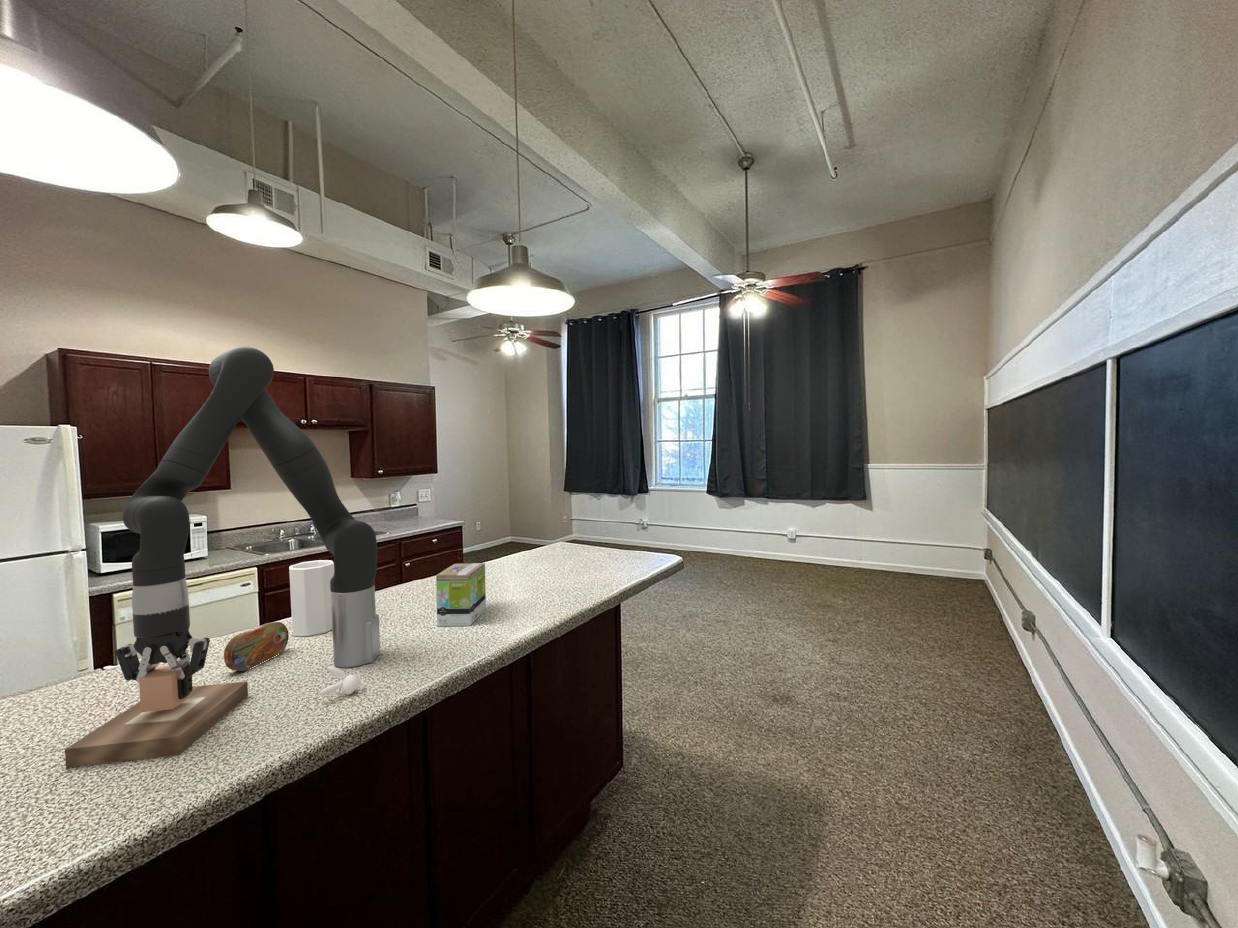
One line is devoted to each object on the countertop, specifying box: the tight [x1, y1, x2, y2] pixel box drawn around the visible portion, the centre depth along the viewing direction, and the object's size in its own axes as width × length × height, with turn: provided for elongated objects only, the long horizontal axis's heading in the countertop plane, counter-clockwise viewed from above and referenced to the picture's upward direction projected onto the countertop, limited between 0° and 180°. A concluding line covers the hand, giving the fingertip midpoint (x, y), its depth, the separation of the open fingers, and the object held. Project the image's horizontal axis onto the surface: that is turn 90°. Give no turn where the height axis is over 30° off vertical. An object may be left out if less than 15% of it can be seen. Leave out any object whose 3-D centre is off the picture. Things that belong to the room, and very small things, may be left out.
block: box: [138, 665, 192, 712], centre depth 91 cm, size 5×5×6 cm
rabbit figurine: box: [319, 665, 365, 698], centre depth 101 cm, size 6×4×8 cm
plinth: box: [64, 680, 249, 768], centre depth 91 cm, size 16×20×3 cm
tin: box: [223, 621, 290, 672], centre depth 118 cm, size 15×3×8 cm, turn 168°
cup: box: [288, 559, 334, 637], centre depth 140 cm, size 11×11×18 cm
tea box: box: [435, 562, 487, 627], centre depth 146 cm, size 15×10×15 cm, turn 179°
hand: (166, 698), depth 91 cm, fingers closed on block, 5 cm apart
